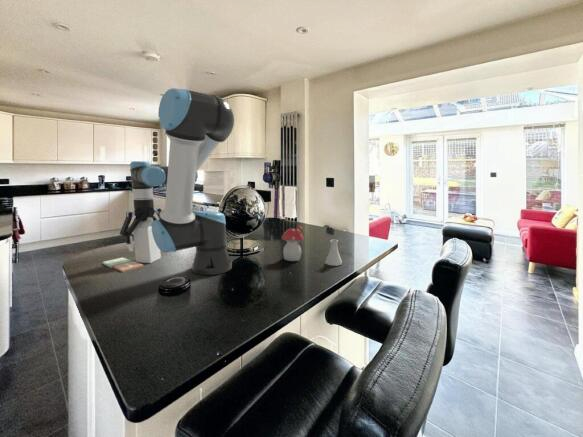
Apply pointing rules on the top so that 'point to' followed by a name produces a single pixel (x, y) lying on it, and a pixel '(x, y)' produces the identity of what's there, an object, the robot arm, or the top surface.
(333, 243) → the flask
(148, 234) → the milk carton
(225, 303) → the top surface
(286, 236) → the decorative ornament
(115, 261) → the pale green square tile
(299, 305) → the top surface
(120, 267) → the pad lying
